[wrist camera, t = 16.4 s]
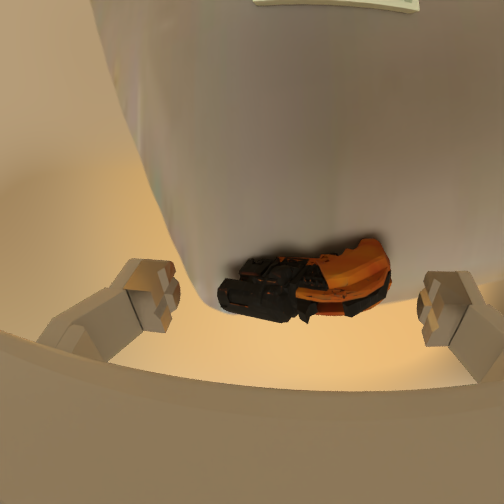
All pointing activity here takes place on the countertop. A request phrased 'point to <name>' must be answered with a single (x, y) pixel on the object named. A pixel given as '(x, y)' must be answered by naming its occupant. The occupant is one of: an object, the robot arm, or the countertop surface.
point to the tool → (310, 285)
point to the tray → (353, 4)
